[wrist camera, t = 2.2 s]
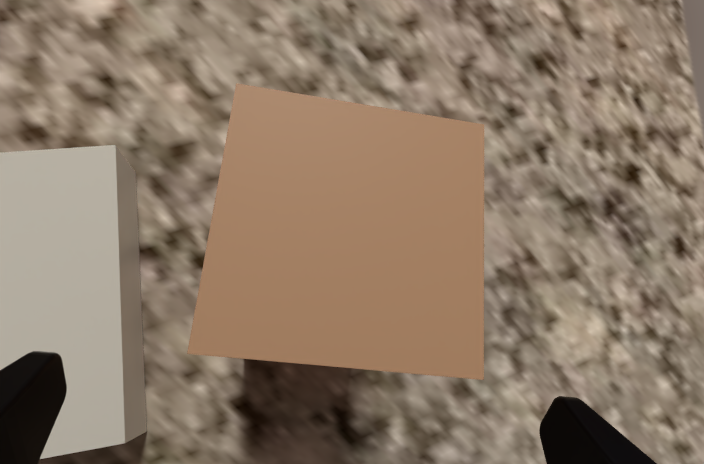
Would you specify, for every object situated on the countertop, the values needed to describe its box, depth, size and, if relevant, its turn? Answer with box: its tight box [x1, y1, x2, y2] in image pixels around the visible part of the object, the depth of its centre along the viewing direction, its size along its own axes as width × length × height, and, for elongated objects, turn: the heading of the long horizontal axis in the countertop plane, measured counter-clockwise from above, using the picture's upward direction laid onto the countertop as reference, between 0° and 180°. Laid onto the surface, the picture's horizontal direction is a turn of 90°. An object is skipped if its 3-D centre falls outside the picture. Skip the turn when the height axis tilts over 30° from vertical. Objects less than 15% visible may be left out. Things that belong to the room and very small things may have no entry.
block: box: [187, 83, 484, 380], centre depth 13 cm, size 4×4×12 cm
